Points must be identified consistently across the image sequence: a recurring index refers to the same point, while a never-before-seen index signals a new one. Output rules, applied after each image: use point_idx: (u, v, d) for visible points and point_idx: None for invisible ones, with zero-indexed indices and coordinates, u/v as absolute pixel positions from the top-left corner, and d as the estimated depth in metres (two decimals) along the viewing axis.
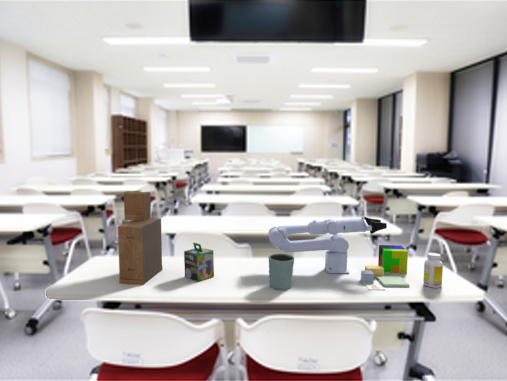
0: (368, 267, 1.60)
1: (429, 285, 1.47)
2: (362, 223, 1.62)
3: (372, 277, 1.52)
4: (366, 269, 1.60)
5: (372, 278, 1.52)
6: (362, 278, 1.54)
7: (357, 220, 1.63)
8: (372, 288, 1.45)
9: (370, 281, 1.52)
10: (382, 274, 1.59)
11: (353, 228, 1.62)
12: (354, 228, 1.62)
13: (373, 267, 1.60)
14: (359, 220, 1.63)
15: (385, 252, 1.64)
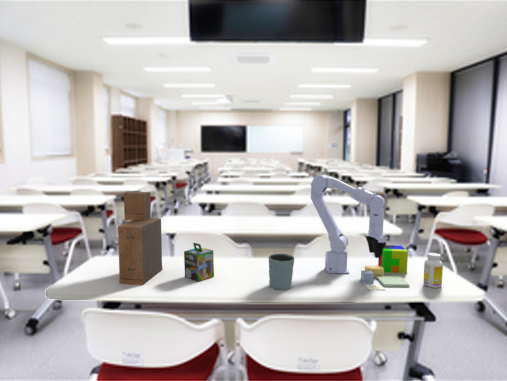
0: (368, 267, 1.60)
1: (429, 285, 1.47)
2: (380, 233, 1.56)
3: (372, 277, 1.52)
4: (366, 269, 1.60)
5: (372, 278, 1.52)
6: (362, 278, 1.54)
7: (382, 229, 1.57)
8: (372, 288, 1.45)
9: (370, 281, 1.52)
10: (382, 274, 1.59)
11: (374, 224, 1.56)
12: (376, 225, 1.56)
13: (373, 267, 1.60)
14: (382, 231, 1.57)
15: (385, 252, 1.64)
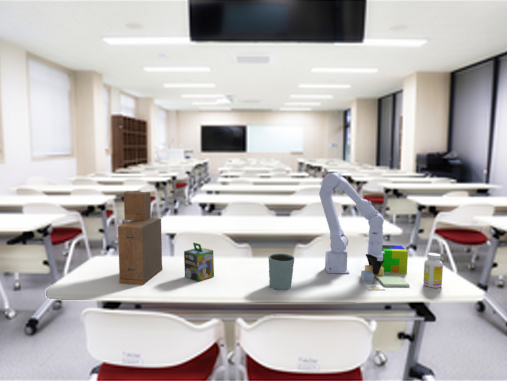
0: (368, 267, 1.60)
1: (429, 285, 1.47)
2: (380, 251, 1.57)
3: (372, 277, 1.52)
4: (366, 269, 1.60)
5: (372, 278, 1.52)
6: (362, 278, 1.54)
7: None
8: (372, 288, 1.45)
9: (370, 281, 1.52)
10: (382, 274, 1.59)
11: (373, 242, 1.57)
12: (375, 243, 1.57)
13: None
14: (381, 248, 1.58)
15: (385, 252, 1.64)
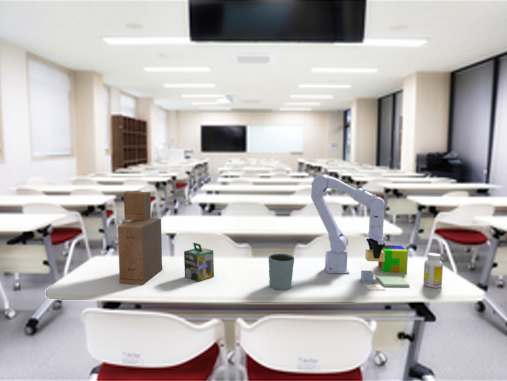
0: (369, 251, 1.59)
1: (429, 285, 1.47)
2: (380, 235, 1.56)
3: (372, 277, 1.52)
4: (367, 253, 1.59)
5: (372, 278, 1.52)
6: (362, 278, 1.54)
7: (382, 230, 1.57)
8: (372, 288, 1.45)
9: (370, 281, 1.52)
10: (383, 258, 1.58)
11: (374, 225, 1.56)
12: (376, 227, 1.56)
13: None
14: (382, 232, 1.57)
15: (385, 252, 1.64)
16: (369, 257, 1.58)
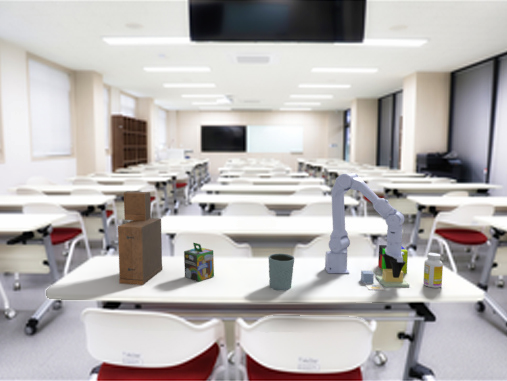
0: (386, 270, 1.52)
1: (429, 285, 1.47)
2: (399, 252, 1.49)
3: (372, 277, 1.52)
4: (384, 273, 1.52)
5: (372, 278, 1.52)
6: (362, 278, 1.54)
7: (401, 247, 1.50)
8: (372, 288, 1.45)
9: (370, 281, 1.52)
10: (401, 278, 1.51)
11: (390, 242, 1.49)
12: (395, 243, 1.48)
13: None
14: None
15: (385, 252, 1.64)
16: (387, 277, 1.51)
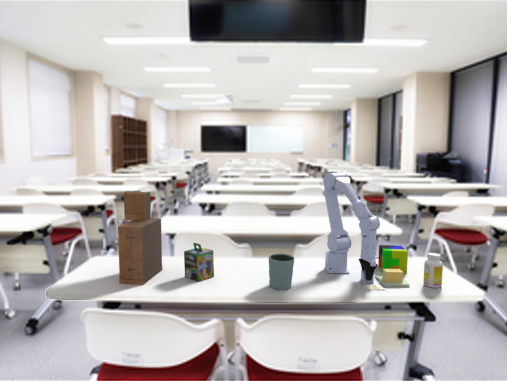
0: (386, 270, 1.52)
1: (429, 285, 1.47)
2: (373, 256, 1.50)
3: (372, 277, 1.52)
4: (384, 273, 1.52)
5: (372, 278, 1.52)
6: (362, 278, 1.54)
7: (375, 251, 1.51)
8: (372, 288, 1.45)
9: (370, 281, 1.52)
10: (401, 278, 1.51)
11: (362, 245, 1.51)
12: (368, 247, 1.50)
13: (392, 270, 1.52)
14: (375, 253, 1.51)
15: (385, 252, 1.64)
16: (387, 277, 1.51)
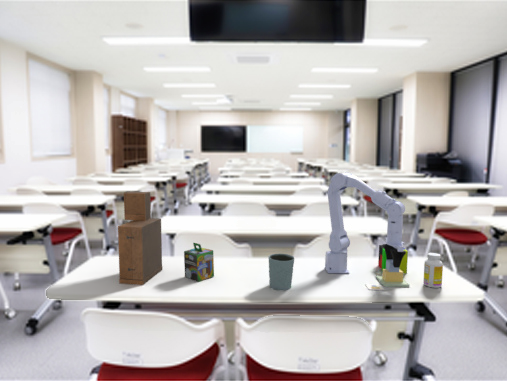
0: (386, 270, 1.52)
1: (429, 285, 1.47)
2: (399, 242, 1.48)
3: None
4: (384, 273, 1.52)
5: None
6: (387, 267, 1.52)
7: (401, 237, 1.50)
8: (372, 288, 1.45)
9: (396, 270, 1.50)
10: (401, 278, 1.51)
11: (391, 231, 1.49)
12: (395, 233, 1.48)
13: None
14: (401, 239, 1.50)
15: None
16: (387, 277, 1.51)
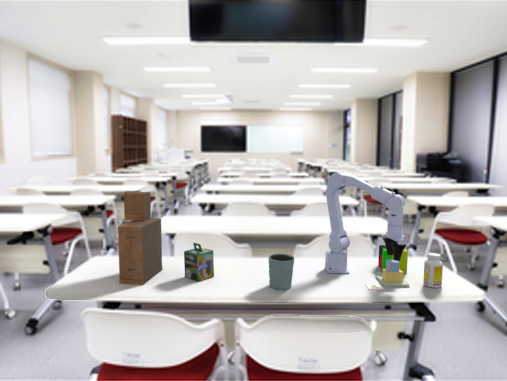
0: (386, 270, 1.52)
1: (429, 285, 1.47)
2: (400, 235, 1.48)
3: (398, 266, 1.50)
4: (384, 273, 1.52)
5: (398, 267, 1.50)
6: (387, 267, 1.52)
7: None
8: (372, 288, 1.45)
9: (396, 270, 1.50)
10: (401, 278, 1.51)
11: (391, 224, 1.48)
12: (395, 226, 1.48)
13: None
14: None
15: (385, 252, 1.64)
16: (387, 277, 1.51)
